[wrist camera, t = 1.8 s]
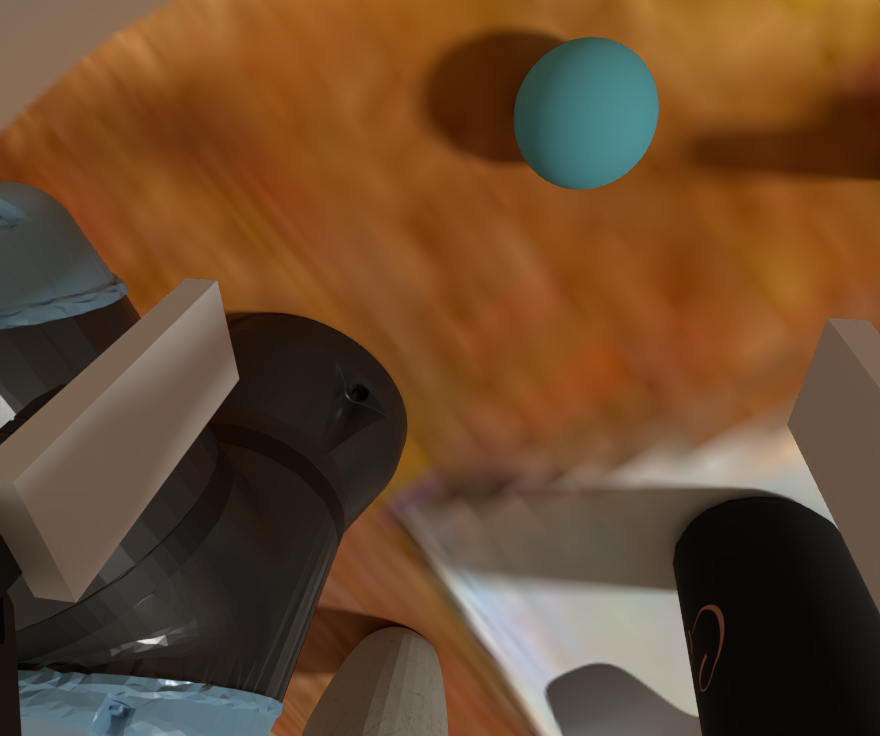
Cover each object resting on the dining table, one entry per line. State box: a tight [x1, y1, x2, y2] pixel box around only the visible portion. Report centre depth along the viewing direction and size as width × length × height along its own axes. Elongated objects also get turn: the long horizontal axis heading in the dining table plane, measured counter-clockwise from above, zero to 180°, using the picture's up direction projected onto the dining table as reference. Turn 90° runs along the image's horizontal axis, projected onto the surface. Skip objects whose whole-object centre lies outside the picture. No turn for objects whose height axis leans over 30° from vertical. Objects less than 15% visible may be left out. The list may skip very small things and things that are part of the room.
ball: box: [514, 37, 659, 190], centre depth 27 cm, size 6×6×6 cm
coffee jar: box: [673, 497, 880, 736], centre depth 36 cm, size 11×11×18 cm
